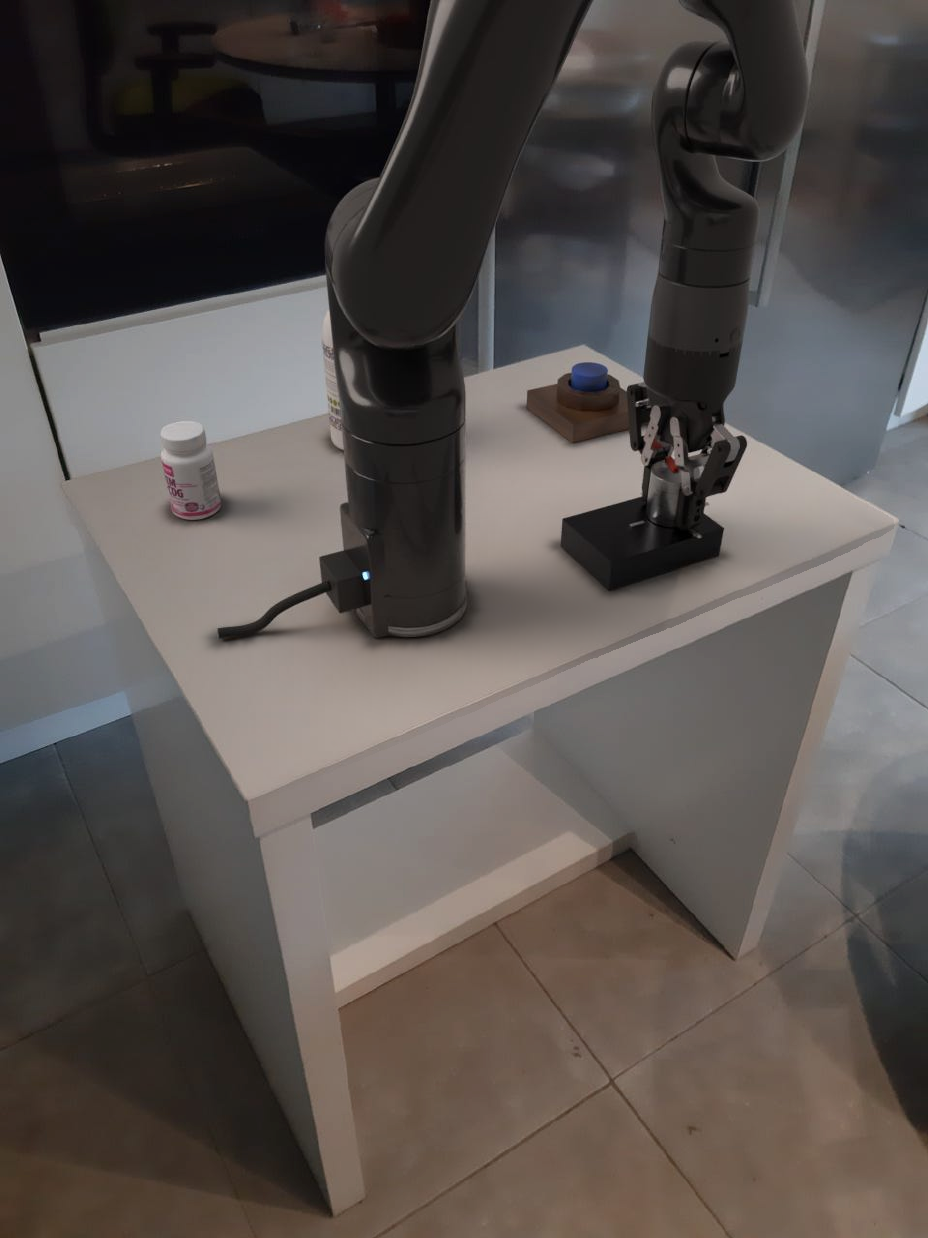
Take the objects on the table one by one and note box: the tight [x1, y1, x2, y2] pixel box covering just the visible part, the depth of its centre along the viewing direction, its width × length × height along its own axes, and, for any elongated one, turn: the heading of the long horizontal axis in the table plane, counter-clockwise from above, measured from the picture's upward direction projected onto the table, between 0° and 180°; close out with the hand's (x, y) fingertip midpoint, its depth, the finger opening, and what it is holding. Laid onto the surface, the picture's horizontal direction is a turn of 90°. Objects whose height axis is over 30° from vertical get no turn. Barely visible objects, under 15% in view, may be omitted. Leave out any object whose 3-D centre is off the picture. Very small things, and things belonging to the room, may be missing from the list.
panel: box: [560, 492, 725, 592], centre depth 89 cm, size 13×9×3 cm, turn 117°
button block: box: [526, 371, 647, 444], centre depth 111 cm, size 10×10×4 cm
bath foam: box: [321, 308, 344, 451], centre depth 101 cm, size 7×7×20 cm
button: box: [570, 361, 609, 392], centre depth 109 cm, size 4×4×2 cm
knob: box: [646, 455, 700, 527], centre depth 87 cm, size 4×4×5 cm
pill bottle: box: [159, 420, 222, 521], centre depth 93 cm, size 5×5×8 cm
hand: (670, 513), depth 89 cm, fingers closed on knob, 4 cm apart
